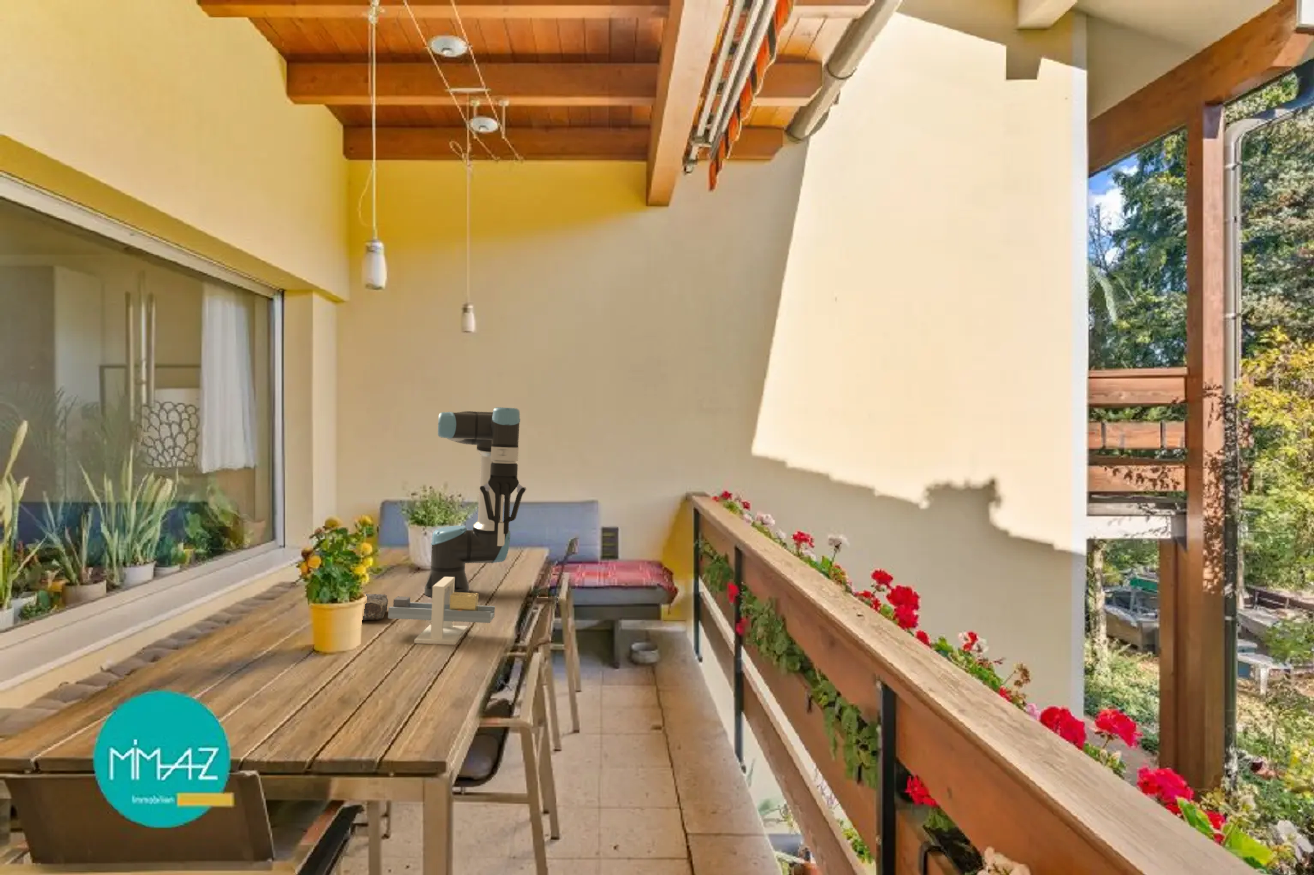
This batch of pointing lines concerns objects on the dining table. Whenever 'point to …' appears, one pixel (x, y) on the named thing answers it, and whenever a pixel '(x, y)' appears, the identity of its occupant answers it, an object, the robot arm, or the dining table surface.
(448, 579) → the stand
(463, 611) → the beam
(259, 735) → the dining table surface
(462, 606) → the block
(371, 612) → the rock
